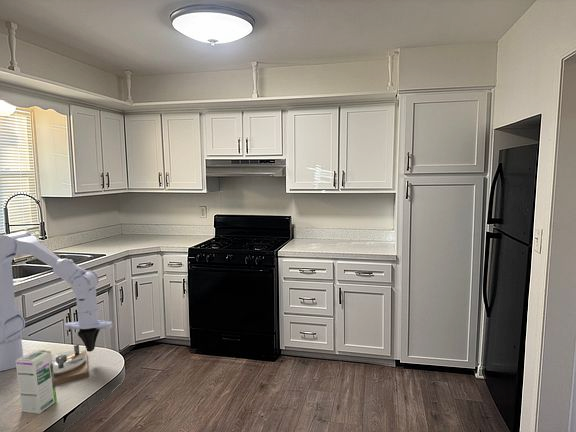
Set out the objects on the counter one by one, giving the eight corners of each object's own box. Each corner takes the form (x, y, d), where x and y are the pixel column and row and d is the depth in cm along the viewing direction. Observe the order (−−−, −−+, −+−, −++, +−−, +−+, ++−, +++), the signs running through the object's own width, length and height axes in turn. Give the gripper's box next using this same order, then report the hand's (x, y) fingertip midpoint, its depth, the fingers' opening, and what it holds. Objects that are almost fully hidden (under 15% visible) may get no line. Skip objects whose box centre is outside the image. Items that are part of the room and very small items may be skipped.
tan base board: (38, 365, 125) (37, 359, 125) (86, 354, 132) (86, 349, 132) (33, 390, 110) (33, 383, 110) (88, 376, 117) (87, 370, 117)
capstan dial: (70, 352, 130) (69, 339, 129) (93, 361, 123) (92, 347, 123) (28, 369, 119) (27, 355, 118) (51, 380, 112) (50, 365, 112)
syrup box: (39, 414, 99) (34, 360, 97) (20, 412, 100) (14, 359, 98) (57, 401, 104) (52, 350, 103) (38, 399, 106) (33, 349, 104)
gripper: (115, 305, 127) (118, 344, 129) (72, 306, 128) (75, 345, 129) (105, 312, 120) (108, 354, 122) (59, 313, 121) (63, 355, 122)
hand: (90, 350), depth 125 cm, fingers closed
